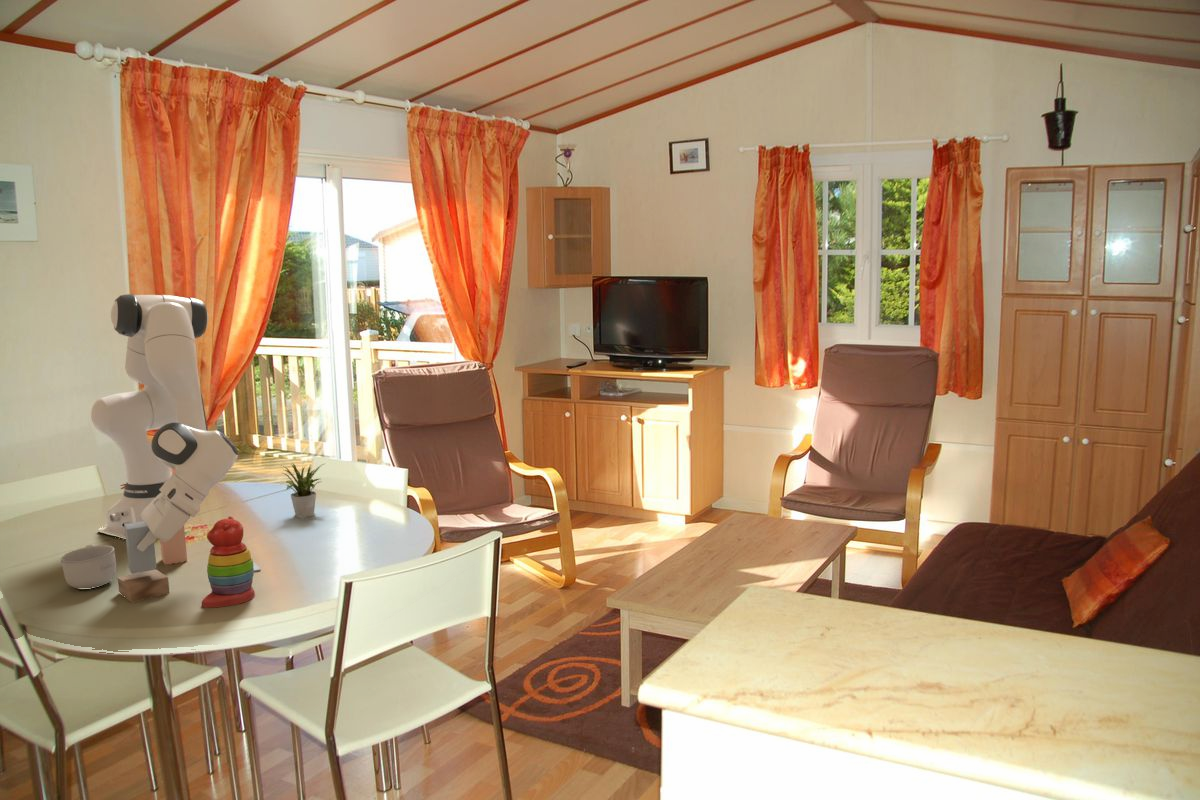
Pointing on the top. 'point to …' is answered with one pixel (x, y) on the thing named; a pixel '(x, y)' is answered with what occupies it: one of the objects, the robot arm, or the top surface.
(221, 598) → the stacking bear
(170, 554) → the terracotta pillar
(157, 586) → the walnut block
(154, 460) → the robot arm
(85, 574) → the teacup
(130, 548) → the slate pillar
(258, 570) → the slate swatch
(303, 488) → the house plant
